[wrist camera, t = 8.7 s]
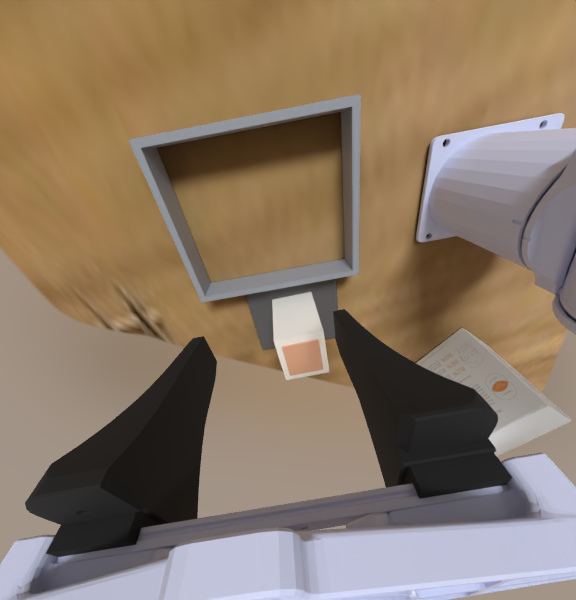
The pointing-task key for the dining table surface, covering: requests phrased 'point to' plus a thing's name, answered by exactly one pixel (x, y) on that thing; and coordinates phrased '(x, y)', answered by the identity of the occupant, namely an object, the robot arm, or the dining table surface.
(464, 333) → the small box
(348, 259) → the grey rectangular frame
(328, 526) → the robot arm
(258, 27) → the dining table surface
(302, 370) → the block
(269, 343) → the mat
